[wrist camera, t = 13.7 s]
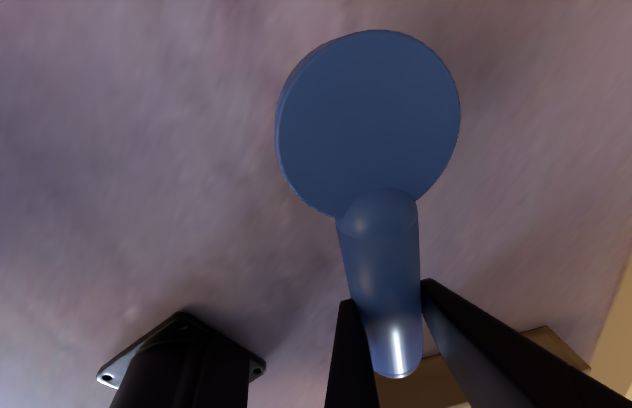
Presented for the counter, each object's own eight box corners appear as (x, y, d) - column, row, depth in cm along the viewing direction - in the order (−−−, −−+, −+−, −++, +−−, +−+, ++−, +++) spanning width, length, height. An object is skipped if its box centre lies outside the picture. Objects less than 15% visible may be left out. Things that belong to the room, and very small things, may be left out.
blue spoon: (431, 323, 11) (461, 375, 9) (335, 348, 11) (347, 405, 9) (427, 16, 6) (491, -2, 4) (253, 58, 6) (243, 57, 4)
